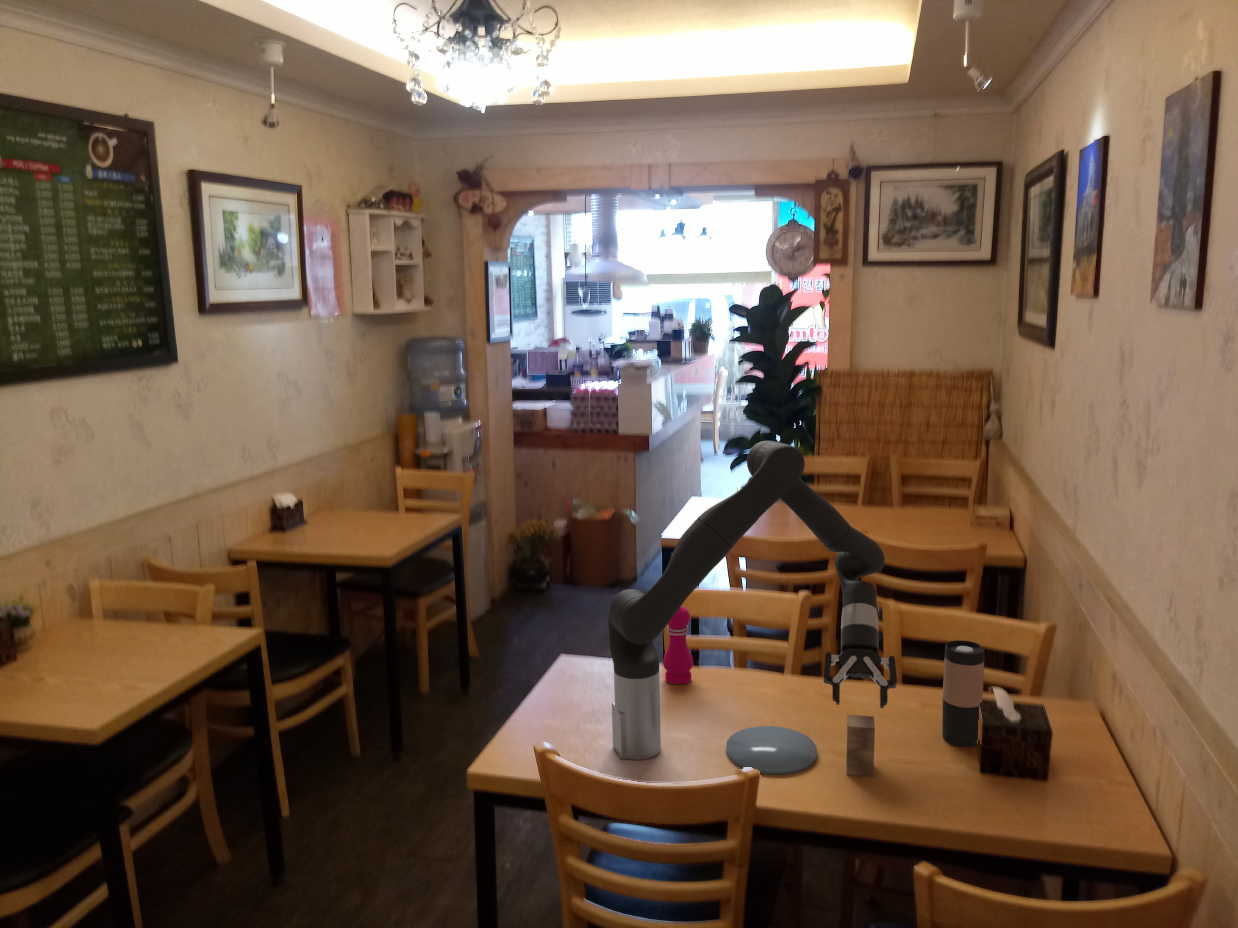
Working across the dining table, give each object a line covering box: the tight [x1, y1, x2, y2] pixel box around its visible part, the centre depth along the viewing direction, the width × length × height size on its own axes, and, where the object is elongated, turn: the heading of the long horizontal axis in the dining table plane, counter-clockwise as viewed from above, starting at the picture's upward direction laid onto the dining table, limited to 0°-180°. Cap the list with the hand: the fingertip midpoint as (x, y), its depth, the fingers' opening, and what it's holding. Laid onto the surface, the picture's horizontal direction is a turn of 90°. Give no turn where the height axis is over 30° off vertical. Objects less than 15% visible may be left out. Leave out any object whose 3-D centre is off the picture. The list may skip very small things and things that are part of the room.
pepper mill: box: [662, 605, 694, 685], centre depth 223 cm, size 7×7×20 cm
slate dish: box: [725, 725, 818, 775], centre depth 188 cm, size 18×18×1 cm
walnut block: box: [845, 714, 876, 778], centre depth 180 cm, size 5×5×10 cm
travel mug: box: [941, 639, 986, 748], centre depth 190 cm, size 8×8×20 cm
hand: (859, 705), depth 185 cm, fingers open, 8 cm apart
